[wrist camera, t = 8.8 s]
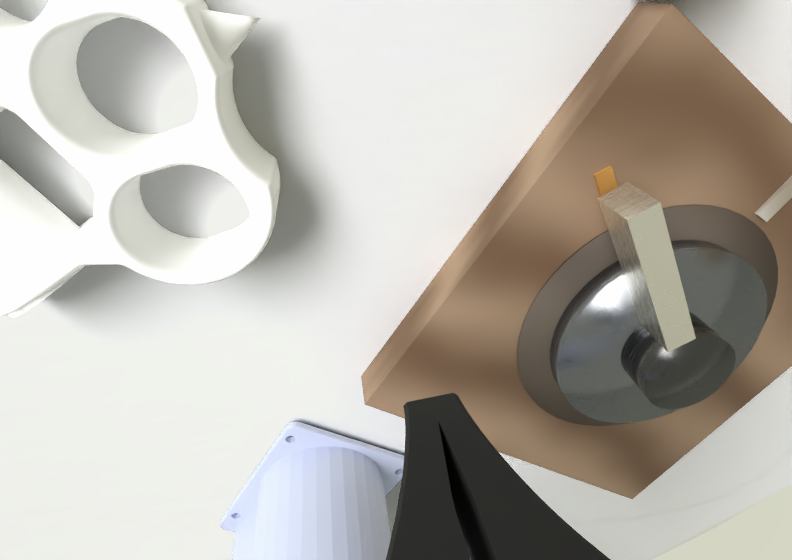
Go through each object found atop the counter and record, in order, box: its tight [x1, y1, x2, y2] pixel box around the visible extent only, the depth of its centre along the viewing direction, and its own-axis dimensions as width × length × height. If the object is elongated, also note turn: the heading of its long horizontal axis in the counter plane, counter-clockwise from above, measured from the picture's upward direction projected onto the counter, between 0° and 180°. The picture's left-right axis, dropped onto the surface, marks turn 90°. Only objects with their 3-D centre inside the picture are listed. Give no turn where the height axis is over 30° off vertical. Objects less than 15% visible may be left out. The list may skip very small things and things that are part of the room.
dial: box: [550, 182, 767, 423], centre depth 21 cm, size 14×10×3 cm
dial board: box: [361, 2, 792, 499], centre depth 24 cm, size 20×20×2 cm
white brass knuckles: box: [0, 0, 280, 318], centre depth 15 cm, size 3×18×15 cm
